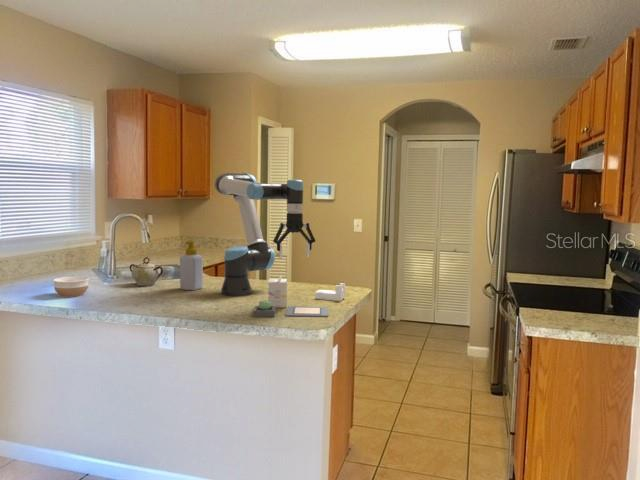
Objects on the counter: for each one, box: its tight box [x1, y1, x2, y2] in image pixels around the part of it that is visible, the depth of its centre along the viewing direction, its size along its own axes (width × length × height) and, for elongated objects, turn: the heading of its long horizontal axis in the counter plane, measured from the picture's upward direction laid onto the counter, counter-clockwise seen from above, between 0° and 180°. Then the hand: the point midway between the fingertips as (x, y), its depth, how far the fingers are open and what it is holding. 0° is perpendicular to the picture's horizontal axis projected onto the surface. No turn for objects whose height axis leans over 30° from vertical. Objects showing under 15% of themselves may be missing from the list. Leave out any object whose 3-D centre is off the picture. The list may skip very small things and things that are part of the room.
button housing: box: [252, 305, 277, 318], centre depth 227 cm, size 9×9×2 cm
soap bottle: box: [179, 240, 204, 291], centre depth 277 cm, size 9×9×25 cm
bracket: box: [314, 282, 346, 302], centre depth 260 cm, size 13×7×8 cm, turn 70°
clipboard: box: [285, 305, 329, 318], centre depth 232 cm, size 18×16×1 cm
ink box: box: [267, 275, 288, 308], centre depth 243 cm, size 9×8×13 cm
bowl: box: [52, 275, 90, 298], centre depth 259 cm, size 16×16×8 cm
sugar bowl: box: [129, 256, 164, 287], centre depth 288 cm, size 20×15×15 cm
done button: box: [258, 300, 271, 310], centre depth 226 cm, size 5×5×3 cm
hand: (294, 257), depth 252 cm, fingers open, 13 cm apart
